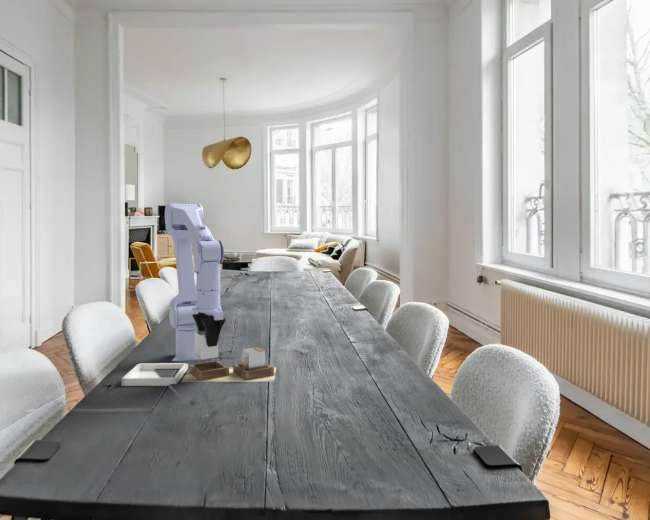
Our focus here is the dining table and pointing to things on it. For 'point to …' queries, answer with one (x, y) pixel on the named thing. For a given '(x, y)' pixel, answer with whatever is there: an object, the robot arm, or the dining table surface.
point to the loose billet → (204, 346)
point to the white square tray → (152, 374)
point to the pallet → (229, 378)
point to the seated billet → (253, 359)
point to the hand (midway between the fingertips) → (208, 344)
